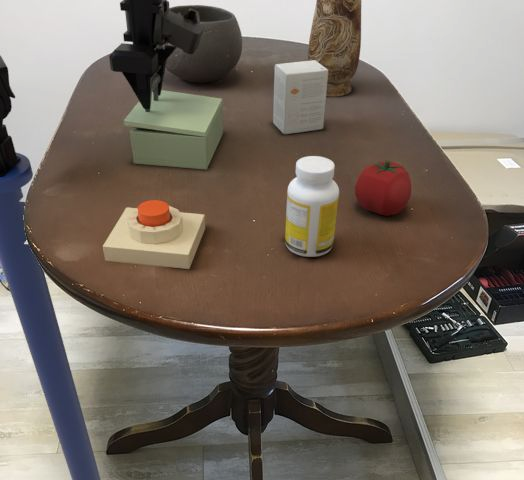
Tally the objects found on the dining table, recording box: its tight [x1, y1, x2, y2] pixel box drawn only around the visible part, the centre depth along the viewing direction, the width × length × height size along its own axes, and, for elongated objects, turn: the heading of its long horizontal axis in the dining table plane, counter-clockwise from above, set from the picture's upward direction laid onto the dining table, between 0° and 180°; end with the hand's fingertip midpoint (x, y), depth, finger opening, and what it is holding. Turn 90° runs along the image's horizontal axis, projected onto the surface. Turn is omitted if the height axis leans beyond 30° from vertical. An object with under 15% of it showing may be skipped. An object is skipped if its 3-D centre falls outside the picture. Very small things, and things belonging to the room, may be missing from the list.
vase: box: [307, 0, 362, 97], centre depth 114 cm, size 10×11×30 cm
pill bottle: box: [284, 155, 340, 258], centre depth 75 cm, size 6×6×12 cm
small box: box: [272, 60, 328, 135], centre depth 105 cm, size 8×6×10 cm
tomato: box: [354, 160, 412, 217], centre depth 85 cm, size 8×8×7 cm
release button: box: [137, 199, 170, 227], centre depth 76 cm, size 4×4×2 cm
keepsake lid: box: [123, 73, 223, 137], centre depth 95 cm, size 13×15×5 cm
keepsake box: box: [129, 103, 224, 171], centre depth 99 cm, size 12×15×5 cm
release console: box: [102, 205, 206, 270], centre depth 77 cm, size 11×10×4 cm
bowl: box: [165, 4, 243, 84], centre depth 123 cm, size 18×18×13 cm
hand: (152, 102), depth 96 cm, fingers closed on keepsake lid, 6 cm apart
